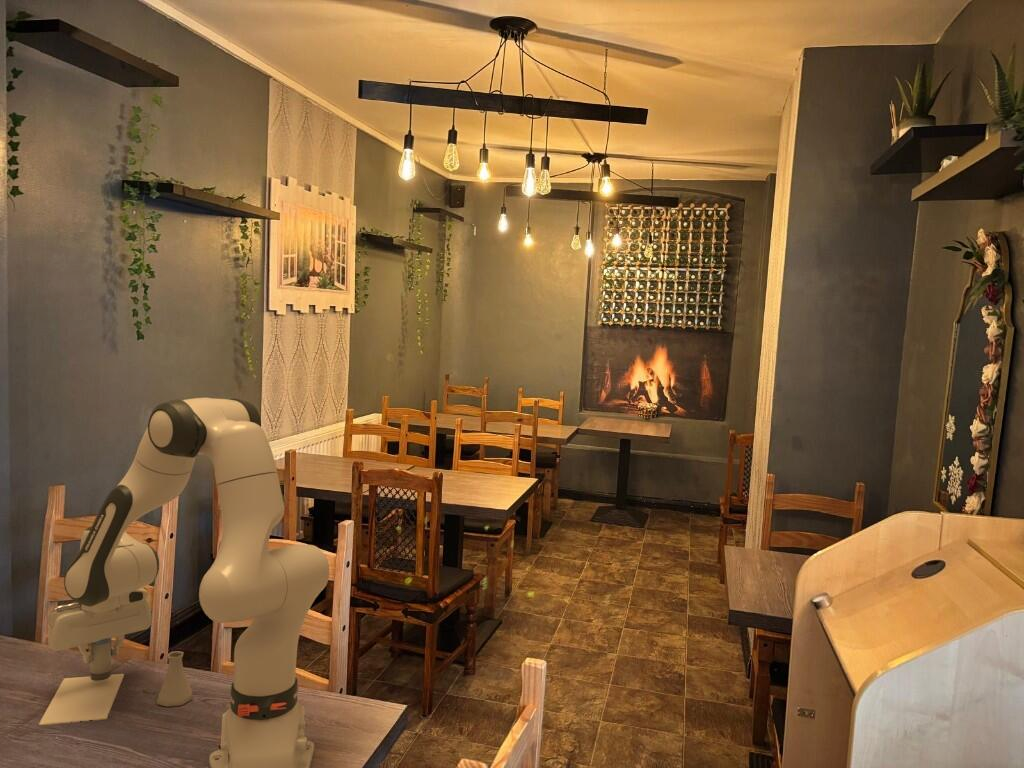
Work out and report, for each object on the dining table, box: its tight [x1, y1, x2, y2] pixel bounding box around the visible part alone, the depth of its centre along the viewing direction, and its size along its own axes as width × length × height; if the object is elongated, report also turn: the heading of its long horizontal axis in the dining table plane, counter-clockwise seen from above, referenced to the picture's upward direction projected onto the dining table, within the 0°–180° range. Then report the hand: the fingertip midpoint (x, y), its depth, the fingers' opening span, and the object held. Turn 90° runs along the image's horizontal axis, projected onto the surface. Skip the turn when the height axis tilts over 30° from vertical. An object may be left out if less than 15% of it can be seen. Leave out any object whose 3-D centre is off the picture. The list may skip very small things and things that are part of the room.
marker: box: [89, 638, 112, 681], centre depth 169 cm, size 4×4×9 cm
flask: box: [156, 650, 194, 708], centre depth 164 cm, size 7×7×10 cm
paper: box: [38, 673, 125, 726], centre depth 163 cm, size 20×12×1 cm, turn 18°
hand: (101, 658), depth 169 cm, fingers closed on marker, 4 cm apart
